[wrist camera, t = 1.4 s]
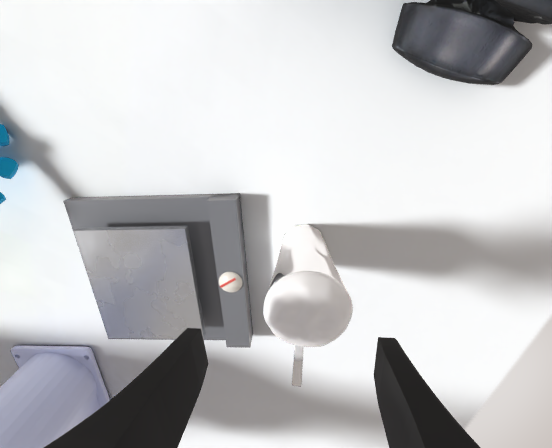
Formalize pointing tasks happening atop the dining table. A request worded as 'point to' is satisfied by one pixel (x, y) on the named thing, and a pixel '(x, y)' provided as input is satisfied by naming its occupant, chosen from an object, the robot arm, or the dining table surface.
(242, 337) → the scale base
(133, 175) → the dining table surface
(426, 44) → the can opener
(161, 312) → the scale pan
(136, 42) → the dining table surface
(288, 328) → the milkshake
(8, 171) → the gear
